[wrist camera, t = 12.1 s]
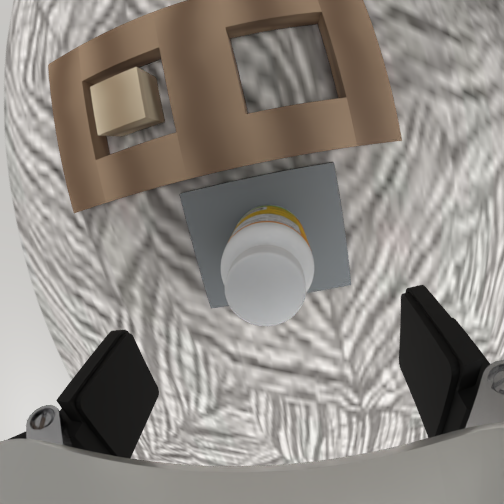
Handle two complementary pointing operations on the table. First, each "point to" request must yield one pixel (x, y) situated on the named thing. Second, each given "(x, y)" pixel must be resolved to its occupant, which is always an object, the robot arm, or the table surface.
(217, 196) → the rubber mat
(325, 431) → the table surface
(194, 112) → the puzzle board
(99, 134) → the maple block
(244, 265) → the supplement bottle
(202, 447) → the table surface
